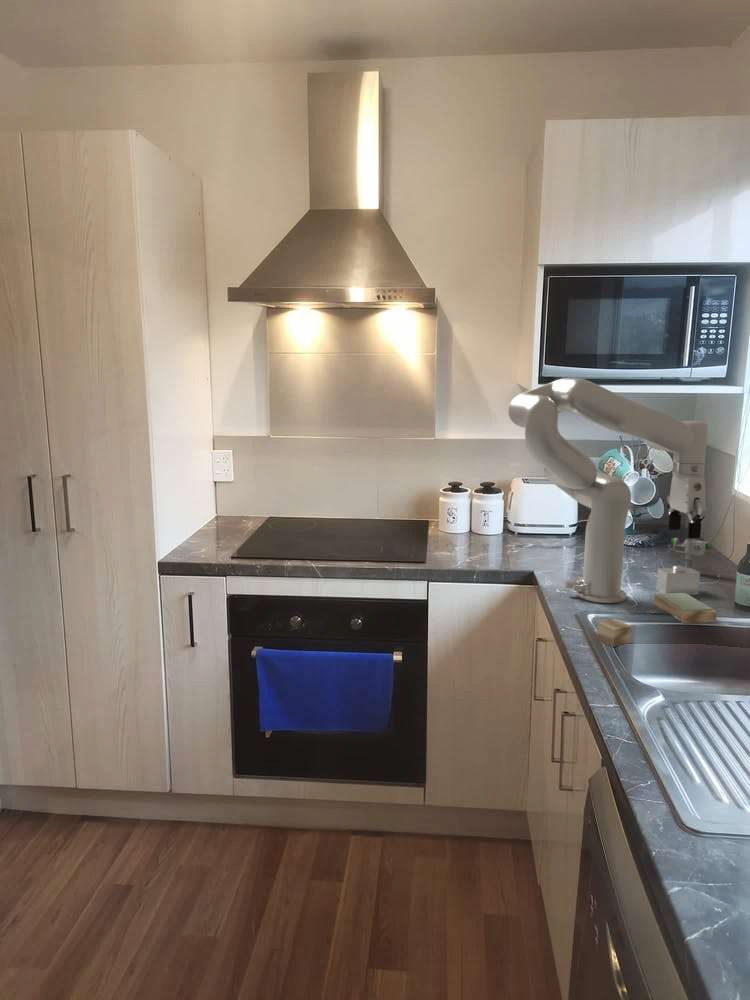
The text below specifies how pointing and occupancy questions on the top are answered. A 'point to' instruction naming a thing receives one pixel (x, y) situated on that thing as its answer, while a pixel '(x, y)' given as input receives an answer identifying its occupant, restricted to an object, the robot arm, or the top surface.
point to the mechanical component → (690, 549)
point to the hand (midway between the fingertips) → (683, 533)
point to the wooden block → (685, 608)
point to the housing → (678, 580)
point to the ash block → (614, 632)
